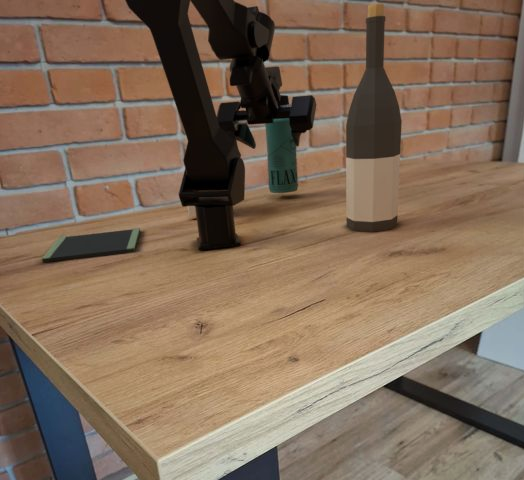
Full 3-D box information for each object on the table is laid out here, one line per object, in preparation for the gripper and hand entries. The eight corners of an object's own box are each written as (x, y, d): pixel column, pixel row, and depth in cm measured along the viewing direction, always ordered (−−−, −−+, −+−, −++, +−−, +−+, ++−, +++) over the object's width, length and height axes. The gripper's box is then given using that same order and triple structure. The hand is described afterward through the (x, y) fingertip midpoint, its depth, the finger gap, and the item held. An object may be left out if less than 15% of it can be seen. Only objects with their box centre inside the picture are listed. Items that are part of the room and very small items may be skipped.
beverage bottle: (267, 201, 109) (259, 96, 100) (271, 195, 114) (265, 96, 106) (297, 199, 107) (292, 94, 99) (300, 193, 113) (296, 93, 104)
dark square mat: (135, 251, 79) (134, 247, 79) (42, 262, 78) (41, 258, 78) (140, 231, 92) (139, 227, 92) (61, 240, 90) (60, 236, 90)
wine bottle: (346, 232, 80) (345, 3, 66) (346, 221, 87) (346, 12, 73) (399, 230, 78) (409, -4, 65) (395, 219, 85) (404, 5, 72)
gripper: (312, 43, 88) (326, 109, 102) (213, 54, 94) (240, 116, 108) (303, 95, 85) (319, 156, 99) (201, 104, 91) (230, 160, 105)
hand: (276, 145), depth 103 cm, fingers open, 9 cm apart
